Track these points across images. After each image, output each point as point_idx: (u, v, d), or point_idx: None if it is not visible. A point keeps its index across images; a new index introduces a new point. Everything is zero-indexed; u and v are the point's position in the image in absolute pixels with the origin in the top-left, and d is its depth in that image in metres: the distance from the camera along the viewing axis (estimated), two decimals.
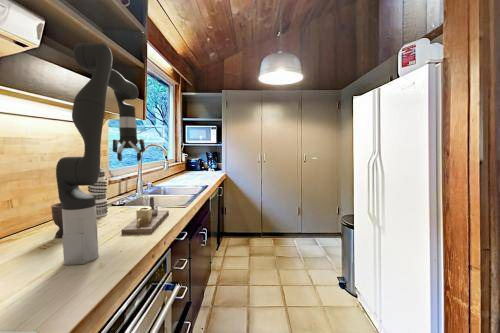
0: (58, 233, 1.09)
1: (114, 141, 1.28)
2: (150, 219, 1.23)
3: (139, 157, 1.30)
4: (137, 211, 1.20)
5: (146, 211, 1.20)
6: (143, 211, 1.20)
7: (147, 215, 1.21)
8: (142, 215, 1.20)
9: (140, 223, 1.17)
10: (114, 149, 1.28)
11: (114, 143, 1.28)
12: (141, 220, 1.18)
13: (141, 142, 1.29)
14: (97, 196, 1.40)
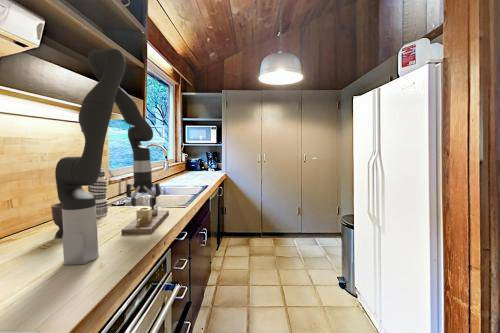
0: (58, 233, 1.09)
1: (128, 186, 1.20)
2: (150, 219, 1.23)
3: (154, 202, 1.23)
4: (137, 211, 1.20)
5: (146, 211, 1.20)
6: (143, 211, 1.20)
7: (147, 215, 1.21)
8: (142, 215, 1.20)
9: (140, 223, 1.17)
10: (128, 194, 1.21)
11: (128, 188, 1.21)
12: (141, 220, 1.18)
13: (156, 186, 1.21)
14: (97, 196, 1.40)
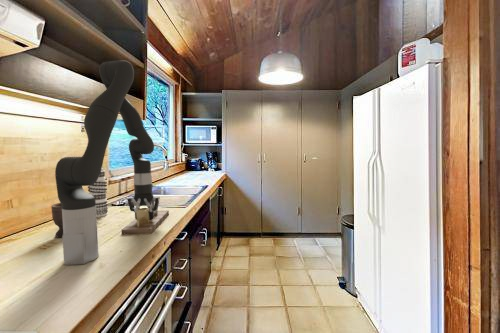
0: (58, 233, 1.09)
1: (129, 200, 1.21)
2: None
3: (152, 216, 1.23)
4: (137, 211, 1.20)
5: (146, 211, 1.20)
6: (143, 211, 1.20)
7: (147, 215, 1.21)
8: (142, 215, 1.20)
9: (140, 223, 1.17)
10: (132, 208, 1.21)
11: (129, 202, 1.21)
12: (141, 220, 1.18)
13: (156, 201, 1.22)
14: (97, 196, 1.40)
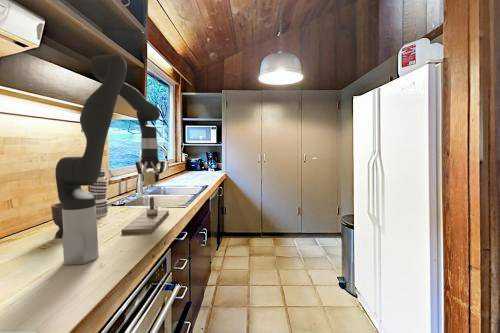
0: (58, 233, 1.09)
1: (137, 163, 1.32)
2: None
3: (157, 178, 1.33)
4: (144, 173, 1.31)
5: (152, 173, 1.31)
6: (150, 173, 1.31)
7: (153, 177, 1.31)
8: (149, 177, 1.31)
9: (147, 183, 1.27)
10: (139, 171, 1.32)
11: (137, 165, 1.32)
12: (148, 181, 1.29)
13: (162, 164, 1.32)
14: (97, 196, 1.40)
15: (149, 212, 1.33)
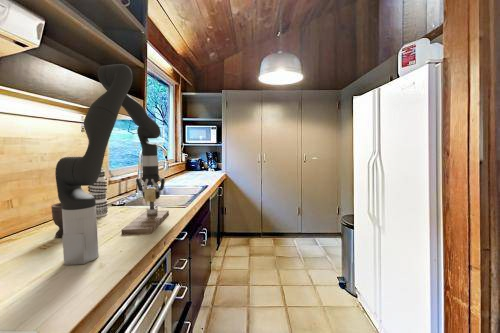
0: (58, 233, 1.09)
1: (137, 180, 1.32)
2: None
3: (158, 195, 1.34)
4: (145, 190, 1.31)
5: (153, 190, 1.32)
6: (150, 190, 1.32)
7: (154, 194, 1.32)
8: (149, 194, 1.32)
9: (148, 201, 1.28)
10: (140, 188, 1.33)
11: (138, 182, 1.32)
12: (149, 198, 1.29)
13: (162, 181, 1.33)
14: (97, 196, 1.40)
15: (149, 212, 1.33)
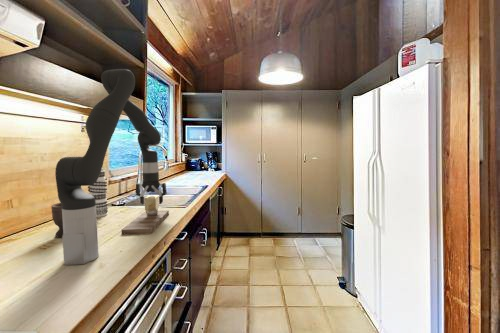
0: (58, 233, 1.09)
1: (137, 185, 1.32)
2: (157, 207, 1.35)
3: (161, 200, 1.34)
4: (145, 199, 1.32)
5: (153, 199, 1.32)
6: (151, 199, 1.32)
7: (154, 203, 1.32)
8: (150, 203, 1.32)
9: (148, 210, 1.28)
10: (137, 193, 1.33)
11: (137, 187, 1.33)
12: (149, 207, 1.30)
13: (163, 186, 1.33)
14: (97, 196, 1.40)
15: (149, 212, 1.33)
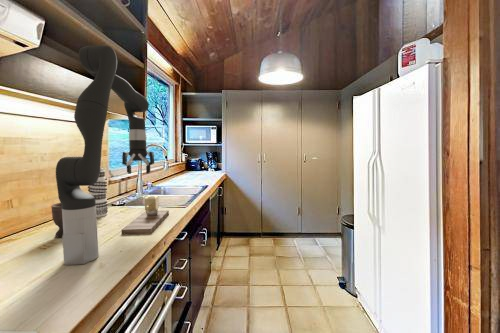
0: (58, 233, 1.09)
1: (124, 154, 1.28)
2: (157, 207, 1.35)
3: (148, 169, 1.29)
4: (145, 199, 1.32)
5: (153, 199, 1.32)
6: (151, 199, 1.32)
7: (154, 203, 1.32)
8: (150, 203, 1.32)
9: (148, 210, 1.28)
10: (124, 162, 1.28)
11: (124, 156, 1.28)
12: (149, 207, 1.30)
13: (150, 154, 1.28)
14: (97, 196, 1.40)
15: (149, 212, 1.33)
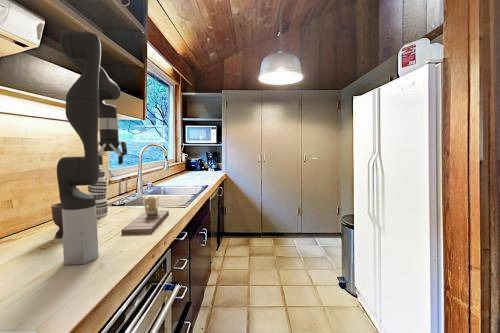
0: (58, 233, 1.09)
1: None
2: (157, 207, 1.35)
3: (121, 160, 1.23)
4: (145, 199, 1.32)
5: (153, 199, 1.32)
6: (151, 199, 1.32)
7: (154, 203, 1.32)
8: (150, 203, 1.32)
9: (148, 210, 1.28)
10: None
11: None
12: (149, 207, 1.30)
13: (123, 145, 1.22)
14: (97, 196, 1.40)
15: (149, 212, 1.33)
